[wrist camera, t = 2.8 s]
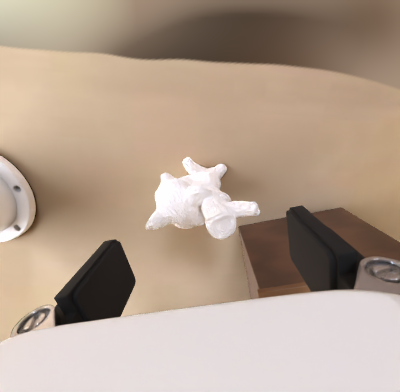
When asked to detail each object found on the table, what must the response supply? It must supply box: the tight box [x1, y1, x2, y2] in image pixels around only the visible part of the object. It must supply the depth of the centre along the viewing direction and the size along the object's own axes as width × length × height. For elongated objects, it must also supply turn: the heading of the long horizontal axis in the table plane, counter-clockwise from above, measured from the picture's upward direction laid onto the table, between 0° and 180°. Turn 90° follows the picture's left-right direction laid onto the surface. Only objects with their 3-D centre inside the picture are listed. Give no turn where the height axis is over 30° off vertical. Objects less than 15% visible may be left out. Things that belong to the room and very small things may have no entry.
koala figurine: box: [146, 157, 260, 239], centre depth 18 cm, size 8×7×12 cm
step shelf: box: [238, 208, 400, 299], centre depth 24 cm, size 13×22×11 cm, turn 13°
